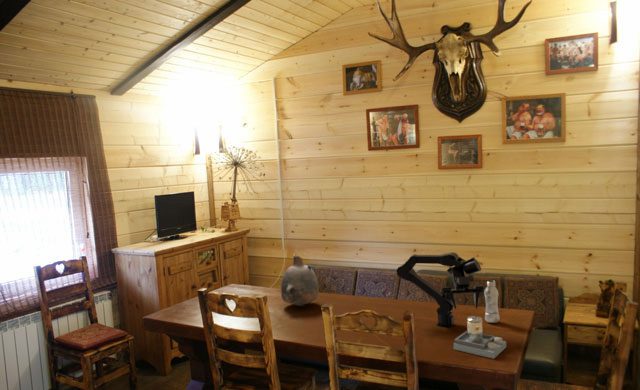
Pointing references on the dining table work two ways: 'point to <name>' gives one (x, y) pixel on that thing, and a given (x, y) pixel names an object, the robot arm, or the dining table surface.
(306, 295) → the jug
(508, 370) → the dining table surface
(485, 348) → the square tray with knobs
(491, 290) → the plastic bottle
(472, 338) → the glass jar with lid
